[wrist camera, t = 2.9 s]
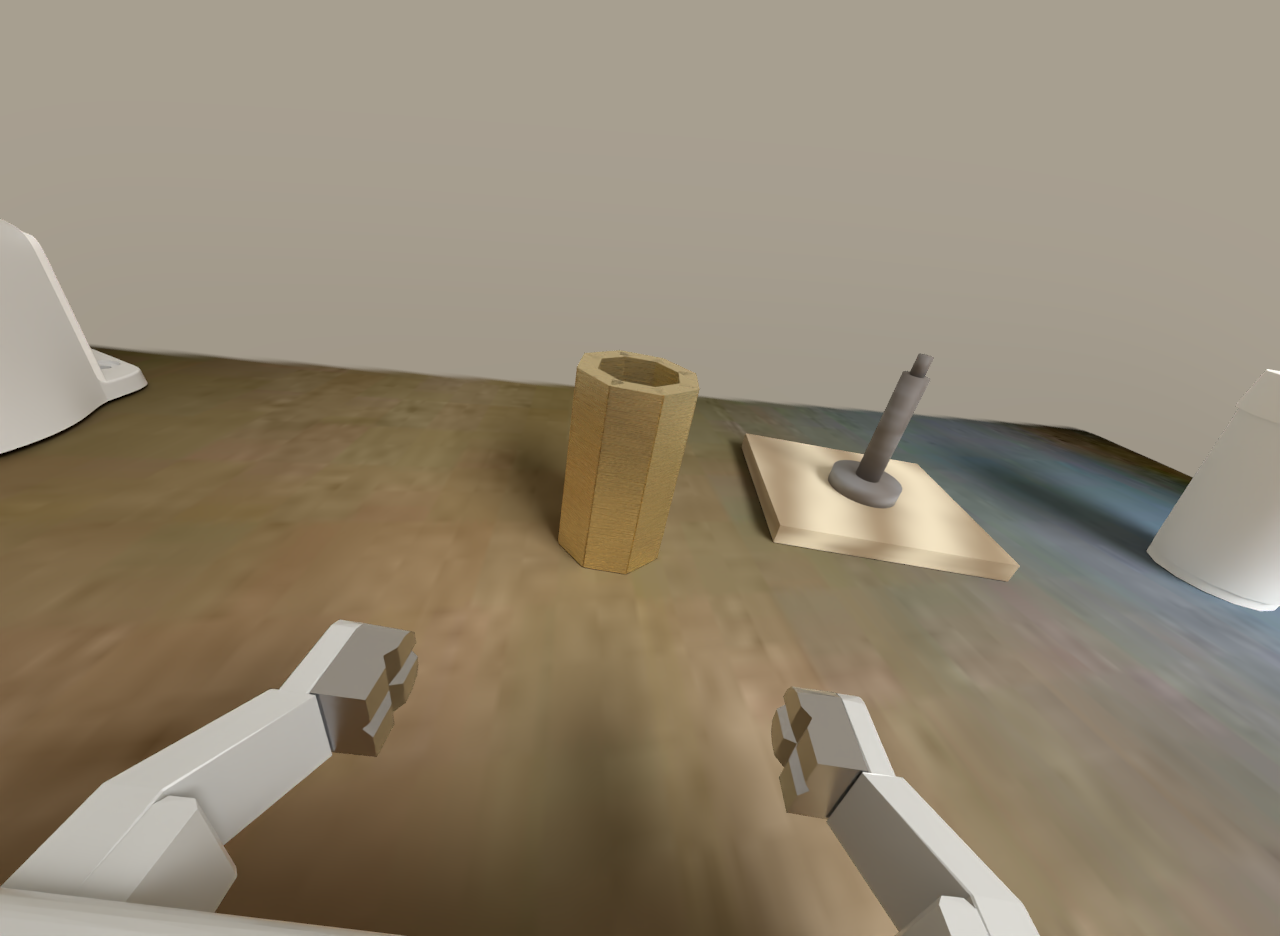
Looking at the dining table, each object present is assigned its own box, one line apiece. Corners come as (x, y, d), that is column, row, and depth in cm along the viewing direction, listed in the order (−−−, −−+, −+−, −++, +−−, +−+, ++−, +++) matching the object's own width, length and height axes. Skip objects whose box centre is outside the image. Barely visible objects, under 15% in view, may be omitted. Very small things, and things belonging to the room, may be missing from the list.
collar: (551, 562, 21) (570, 378, 17) (570, 502, 26) (589, 344, 21) (656, 579, 22) (702, 402, 17) (657, 517, 26) (694, 364, 22)
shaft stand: (773, 542, 26) (845, 364, 21) (741, 446, 36) (784, 313, 31) (1007, 581, 27) (1133, 418, 21) (910, 476, 37) (978, 350, 32)
